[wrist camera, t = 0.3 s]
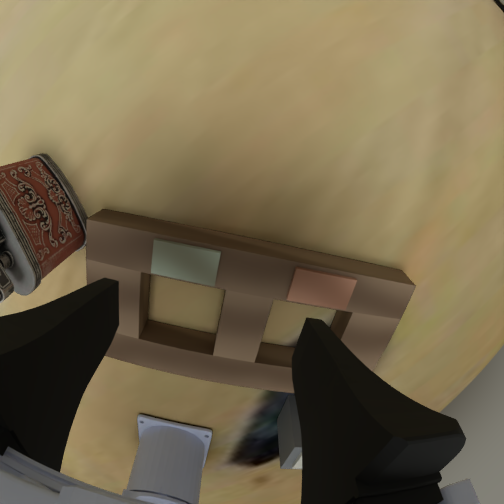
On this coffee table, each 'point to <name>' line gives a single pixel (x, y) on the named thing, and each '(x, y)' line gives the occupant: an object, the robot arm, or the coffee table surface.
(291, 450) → the plug
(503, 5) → the race car
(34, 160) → the lighter
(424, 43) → the coffee table surface
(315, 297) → the socket board
